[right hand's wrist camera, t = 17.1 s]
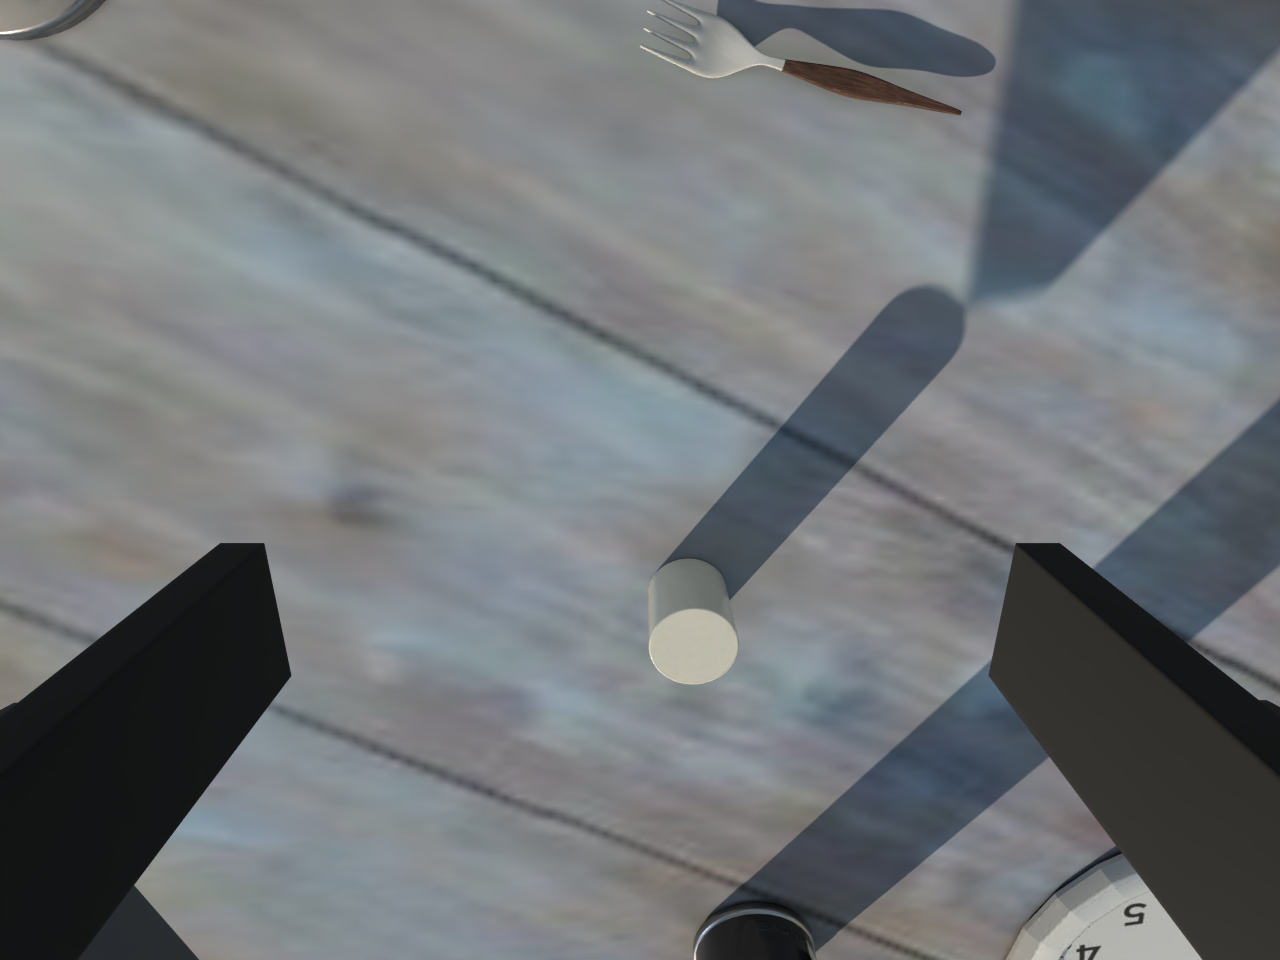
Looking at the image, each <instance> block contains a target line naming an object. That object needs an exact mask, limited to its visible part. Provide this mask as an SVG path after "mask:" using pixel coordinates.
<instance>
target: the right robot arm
mask: <svg viewBox="0 0 1280 960" xmlns="http://www.w3.org/2000/svg"><path fill="white" fill-rule="evenodd" d="M104 1H105V0H0V39H1V40H31V39H37V38H43V37H48V36H51V35H54V34H57V33H60V32H63V31H65V30H67V29H69V28H71V27H73V26H75V25H77V24H78V23H80V22H81V21H83V20H85V19H86V18H87V17H88V16H90V15H91V14H92V13H93V12H94V11H96V10H97V9H98V8H99V7H100V6H101V5H102V4H103V2H104ZM290 677H291V671H290V667H289V662H288V657H287V652H286V647H285V642H284V637H283V633H282V628H281V623H280V618H279V613H278V608H277V603H276V598H275V594H274V589H273V584H272V579H271V574H270V569H269V564H268V560H267V555H266V550H265V545H264V543H220V544H219V545H217V546H216V547H215V548H214V549H212V550H211V551H210V552H208V553H207V554H206V555H205V556H203V557H202V558H201V559H200V560H198V561H197V562H196V563H195V564H193V565H192V566H191V567H189V568H188V569H187V570H186V571H184V572H183V573H182V574H181V575H179V576H178V577H177V578H176V579H174V580H173V581H172V582H170V583H169V584H168V585H167V586H165V587H164V588H163V589H162V590H160V591H159V592H158V593H156V594H155V595H154V596H153V597H151V598H150V599H149V600H148V601H146V602H145V603H144V604H143V605H141V606H140V607H139V608H137V609H136V610H135V611H134V612H132V613H131V614H130V615H129V616H127V617H126V618H125V619H124V620H122V621H121V622H120V623H118V624H117V625H116V626H115V627H113V628H112V629H111V630H110V631H108V632H107V633H106V634H105V635H103V636H102V637H101V638H99V639H98V640H97V641H96V642H94V643H93V644H92V645H91V646H89V647H88V648H87V649H86V650H84V651H83V652H82V653H80V654H79V655H78V656H77V657H75V658H74V659H73V660H72V661H70V662H69V663H68V664H67V665H65V666H64V667H63V668H61V669H60V670H59V671H58V672H56V673H55V674H54V675H53V676H51V677H50V678H49V679H48V680H46V681H45V682H44V683H42V684H41V685H40V686H39V687H37V688H36V689H35V690H34V691H32V692H31V693H30V694H28V695H27V696H26V697H25V698H23V699H22V700H21V701H20V702H18V703H13V704H11V705H9V706H7V707H5V708H3V709H1V710H0V960H78V959H79V957H80V956H81V955H82V953H83V952H84V951H85V949H86V948H87V947H88V945H89V944H90V943H91V942H92V940H93V939H94V938H95V936H96V935H97V934H98V932H99V931H100V930H101V928H102V927H103V926H104V924H105V923H106V922H107V920H108V919H109V918H110V916H111V915H112V914H113V912H114V911H115V910H116V908H117V907H118V906H119V904H120V903H121V902H122V900H123V899H124V898H125V896H126V895H127V894H128V892H129V891H130V890H131V888H132V887H133V886H134V884H135V883H136V882H137V880H138V879H139V878H140V876H141V875H142V874H143V872H144V871H145V870H146V868H147V867H148V866H149V864H150V863H151V862H152V860H153V859H154V858H155V856H156V855H157V854H158V852H159V851H160V850H161V848H162V847H163V846H164V844H165V843H166V842H167V840H168V839H169V838H170V836H171V835H172V834H173V832H174V831H175V830H176V828H177V827H178V826H179V824H180V823H181V822H182V820H183V819H184V818H185V816H186V815H187V814H188V812H189V811H190V810H191V809H192V807H193V806H194V805H195V803H196V802H197V801H198V799H199V798H200V797H201V795H202V794H203V793H204V791H205V790H206V789H207V787H208V786H209V785H210V783H211V782H212V781H213V779H214V778H215V777H216V775H217V774H218V773H219V771H220V770H221V769H222V767H223V766H224V765H225V763H226V762H227V761H228V759H229V758H230V757H231V755H232V754H233V753H234V751H235V750H236V749H237V747H238V746H239V745H240V743H241V742H242V741H243V739H244V738H245V737H246V735H247V734H248V733H249V731H250V730H251V729H252V727H253V726H254V725H255V723H256V722H257V721H258V719H259V718H260V717H261V715H262V714H263V713H264V711H265V710H266V709H267V707H268V706H269V705H270V703H271V702H272V701H273V699H274V698H275V697H276V695H277V694H278V693H279V691H280V690H281V689H282V687H283V686H284V685H285V683H286V682H287V681H288V679H289V678H290ZM989 677H990V678H991V679H992V681H993V682H994V683H995V685H996V686H997V687H998V689H999V690H1000V691H1001V693H1002V694H1003V695H1004V697H1005V698H1006V699H1007V701H1008V702H1009V703H1010V705H1011V706H1012V707H1013V709H1014V710H1015V711H1016V713H1017V714H1018V715H1019V717H1020V718H1021V719H1022V721H1023V722H1024V723H1025V725H1026V726H1027V727H1028V729H1029V730H1030V731H1031V733H1032V734H1033V735H1034V737H1035V738H1036V739H1037V741H1038V742H1039V743H1040V745H1041V746H1042V747H1043V749H1044V750H1045V751H1046V753H1047V754H1048V755H1049V757H1050V758H1051V759H1052V761H1053V762H1054V763H1055V765H1056V766H1057V767H1058V769H1059V770H1060V771H1061V773H1062V774H1063V775H1064V777H1065V778H1066V779H1067V781H1068V782H1069V783H1070V785H1071V786H1072V787H1073V789H1074V790H1075V791H1076V793H1077V794H1078V795H1079V797H1080V798H1081V799H1082V801H1083V802H1084V803H1085V805H1086V806H1087V807H1088V809H1089V810H1090V811H1091V812H1092V814H1093V815H1094V816H1095V818H1096V819H1097V820H1098V822H1099V823H1100V824H1101V826H1102V827H1103V828H1104V830H1105V831H1106V832H1107V834H1108V835H1109V836H1110V838H1111V839H1112V840H1113V842H1114V843H1115V844H1116V846H1117V847H1118V848H1119V850H1120V851H1121V852H1122V854H1123V855H1124V856H1125V858H1126V859H1127V860H1128V862H1129V863H1130V864H1131V866H1132V867H1133V868H1134V870H1135V871H1136V872H1137V874H1138V875H1139V876H1140V878H1141V879H1142V880H1143V882H1144V883H1145V884H1146V886H1147V887H1148V888H1149V890H1150V891H1151V892H1152V894H1153V895H1154V896H1155V898H1156V899H1157V900H1158V902H1159V903H1160V904H1161V906H1162V907H1163V908H1164V910H1165V911H1166V912H1167V914H1168V915H1169V916H1170V918H1171V919H1172V920H1173V922H1174V923H1175V924H1176V926H1177V927H1178V928H1179V930H1180V931H1181V932H1182V934H1183V935H1184V936H1185V938H1186V939H1187V940H1188V942H1189V943H1190V944H1191V945H1192V947H1193V948H1194V949H1195V951H1196V952H1197V953H1198V955H1199V956H1200V957H1201V959H1202V960H1280V707H1279V706H1277V705H1275V704H1273V703H1271V702H1269V701H1267V700H1258V699H1257V698H1255V697H1254V696H1253V695H1252V694H1250V693H1249V692H1248V691H1246V690H1245V689H1244V688H1243V687H1241V686H1240V685H1239V684H1238V683H1236V682H1235V681H1234V680H1232V679H1231V678H1230V677H1229V676H1227V675H1226V674H1225V673H1224V672H1222V671H1221V670H1220V669H1219V668H1217V667H1216V666H1215V665H1213V664H1212V663H1211V662H1210V661H1208V660H1207V659H1206V658H1205V657H1203V656H1202V655H1201V654H1200V653H1198V652H1197V651H1196V650H1194V649H1193V648H1192V647H1191V646H1189V645H1188V644H1187V643H1186V642H1184V641H1183V640H1182V639H1181V638H1179V637H1178V636H1177V635H1175V634H1174V633H1173V632H1172V631H1170V630H1169V629H1168V628H1167V627H1165V626H1164V625H1163V624H1162V623H1160V622H1159V621H1158V620H1156V619H1155V618H1154V617H1153V616H1151V615H1150V614H1149V613H1148V612H1146V611H1145V610H1144V609H1143V608H1141V607H1140V606H1139V605H1137V604H1136V603H1135V602H1134V601H1132V600H1131V599H1130V598H1129V597H1127V596H1126V595H1125V594H1124V593H1122V592H1121V591H1120V590H1118V589H1117V588H1116V587H1115V586H1113V585H1112V584H1111V583H1110V582H1108V581H1107V580H1106V579H1104V578H1103V577H1102V576H1101V575H1099V574H1098V573H1097V572H1096V571H1094V570H1093V569H1092V568H1091V567H1089V566H1088V565H1087V564H1085V563H1084V562H1083V561H1082V560H1080V559H1079V558H1078V557H1077V556H1075V555H1074V554H1073V553H1072V552H1070V551H1069V550H1068V549H1066V548H1065V547H1064V546H1063V545H1061V544H1060V543H1016V545H1015V550H1014V555H1013V560H1012V564H1011V569H1010V574H1009V579H1008V584H1007V589H1006V594H1005V598H1004V603H1003V608H1002V613H1001V618H1000V623H999V628H998V633H997V637H996V642H995V647H994V652H993V657H992V662H991V667H990V671H989Z"/></svg>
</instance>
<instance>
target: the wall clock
mask: <svg viewBox="0 0 1280 960" xmlns="http://www.w3.org/2000/svg"><path fill="white" fill-rule="evenodd" d="M1006 960H1202V959H1201V957H1200V956H1199V955H1198V953H1197V952H1196V951H1195V949H1194V948H1193V947H1192V945H1191V944H1190V943H1189V942H1188V940H1187V939H1186V938H1185V936H1184V935H1183V934H1182V932H1181V931H1180V930H1179V928H1178V927H1177V926H1176V924H1175V923H1174V922H1173V920H1172V919H1171V918H1170V916H1169V915H1168V914H1167V912H1166V911H1165V910H1164V908H1163V907H1162V906H1161V904H1160V903H1159V902H1158V900H1157V899H1156V898H1155V896H1154V895H1153V894H1152V892H1151V891H1150V890H1149V888H1148V887H1147V886H1146V884H1145V883H1144V882H1143V880H1142V879H1141V878H1140V876H1139V875H1138V874H1137V872H1136V871H1135V870H1134V868H1133V867H1132V866H1131V864H1130V863H1129V862H1128V860H1127V859H1126V858H1125V856H1124V855H1123V854H1120V855H1117V856H1115V857H1113V858H1111V859H1108V860H1106V861H1104V862H1101V863H1099V864H1097V865H1096V866H1094V867H1093V868H1091V869H1090V870H1088V871H1087V872H1085V873H1084V874H1082V875H1081V876H1079V877H1078V878H1077V879H1075V880H1074V881H1072V882H1071V883H1069V884H1068V885H1066V886H1065V887H1063V888H1062V889H1060V890H1059V891H1058V892H1056V893H1055V894H1054V895H1053V896H1052V897H1051V898H1050V899H1049V900H1048V901H1047V902H1046V903H1045V904H1044V905H1043V906H1042V907H1041V908H1040V910H1039V911H1038V912H1037V913H1036V914H1035V915H1034V916H1033V917H1032V918H1031V919H1030V920H1029V921H1028V922H1027V923H1026V924H1025V925H1024V927H1023V928H1022V930H1021V932H1020V934H1019V936H1018V938H1017V940H1016V941H1015V943H1014V945H1013V947H1012V949H1011V951H1010V953H1009V955H1008V956H1007V958H1006Z"/></svg>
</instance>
